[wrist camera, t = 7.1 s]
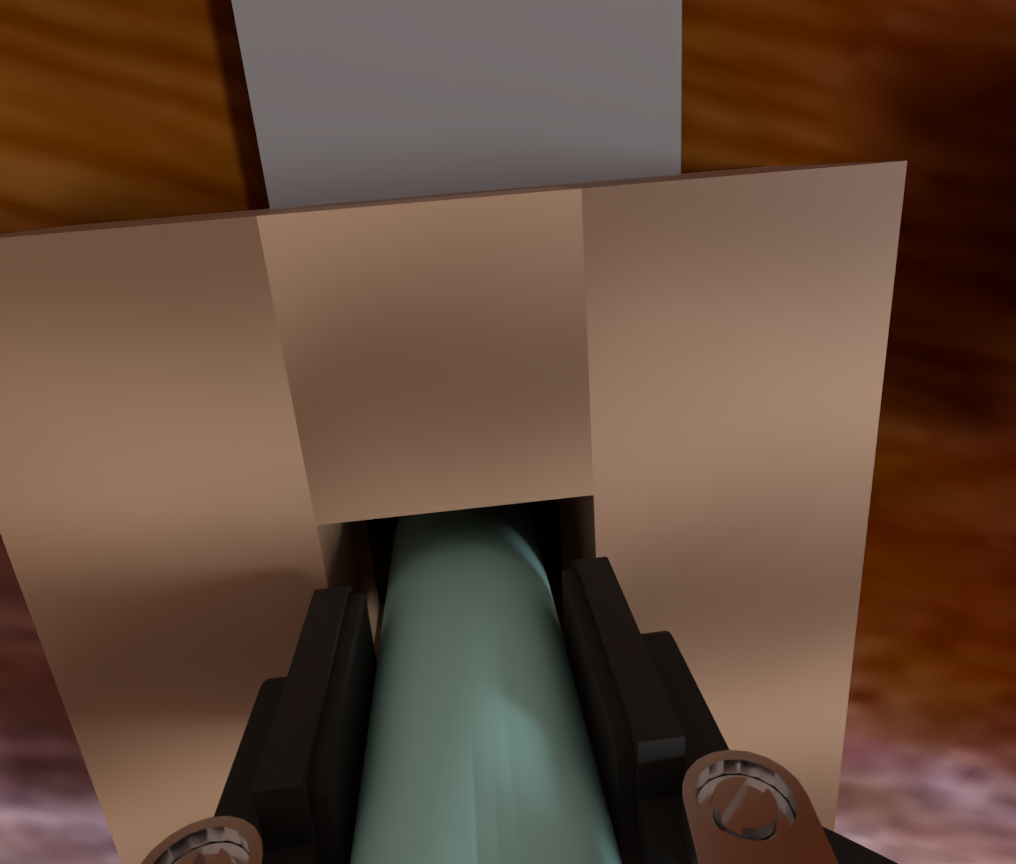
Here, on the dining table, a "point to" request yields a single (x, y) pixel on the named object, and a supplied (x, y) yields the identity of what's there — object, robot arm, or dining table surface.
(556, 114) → the mat
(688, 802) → the robot arm
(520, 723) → the peg
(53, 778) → the dining table surface
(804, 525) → the hole block
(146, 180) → the dining table surface
